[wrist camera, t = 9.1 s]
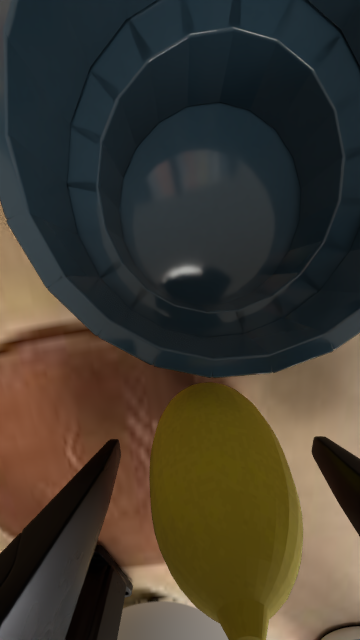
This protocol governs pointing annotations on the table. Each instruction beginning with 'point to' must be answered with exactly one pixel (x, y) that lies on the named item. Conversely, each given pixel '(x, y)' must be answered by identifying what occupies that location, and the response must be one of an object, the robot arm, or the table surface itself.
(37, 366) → the table surface
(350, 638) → the beverage bottle
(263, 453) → the lemon
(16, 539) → the robot arm
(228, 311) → the bowl
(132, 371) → the table surface
